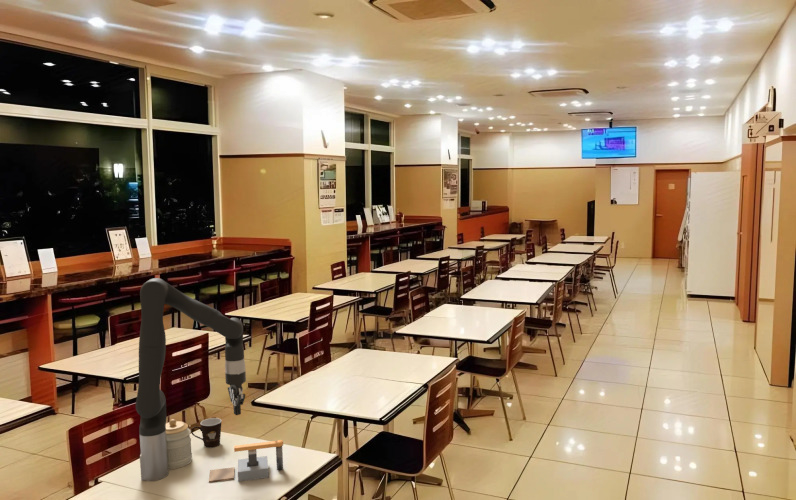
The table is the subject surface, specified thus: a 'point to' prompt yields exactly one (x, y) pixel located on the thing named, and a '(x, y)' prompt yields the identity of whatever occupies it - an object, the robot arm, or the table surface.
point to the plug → (252, 457)
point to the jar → (178, 444)
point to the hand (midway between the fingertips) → (237, 414)
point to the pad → (221, 474)
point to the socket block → (252, 469)
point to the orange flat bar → (258, 445)
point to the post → (279, 458)
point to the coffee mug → (210, 432)
